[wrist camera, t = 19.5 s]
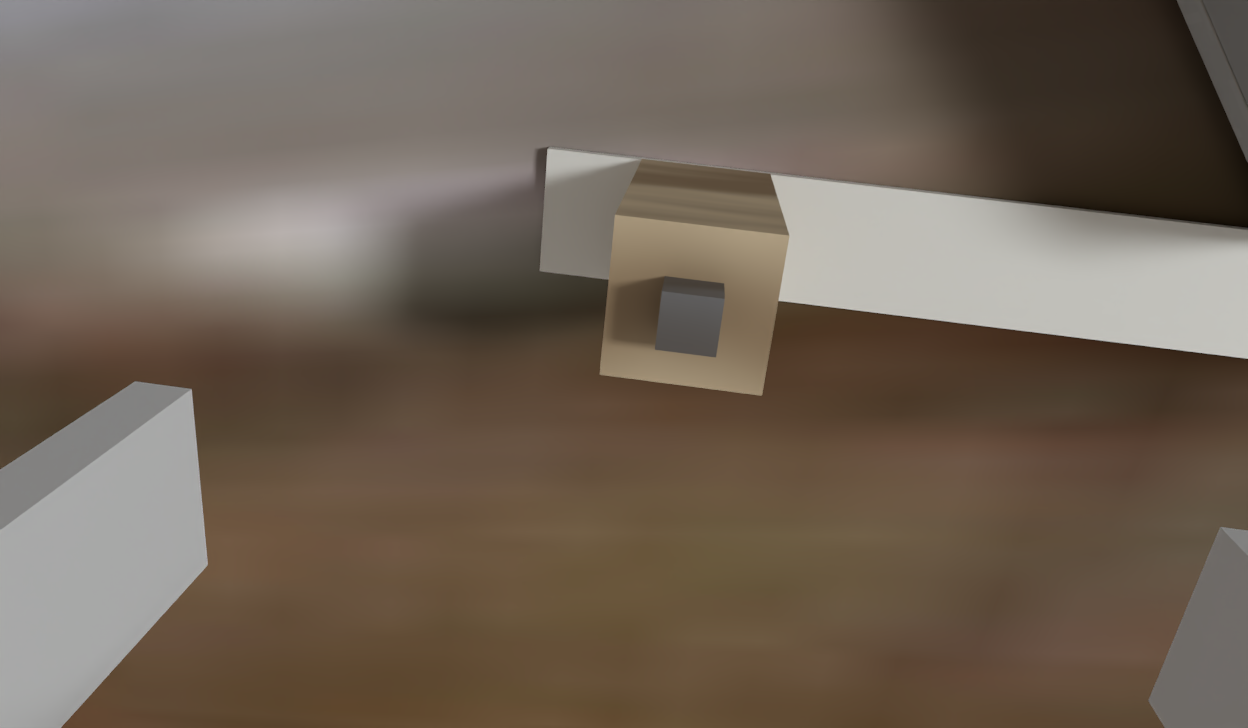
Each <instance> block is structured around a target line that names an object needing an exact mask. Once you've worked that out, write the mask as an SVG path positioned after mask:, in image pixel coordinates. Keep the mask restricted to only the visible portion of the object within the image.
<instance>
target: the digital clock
mask: <svg viewBox="0 0 1248 728" xmlns="http://www.w3.org/2000/svg"><path fill="white" fill-rule="evenodd" d="M1177 2H1178V5H1179V7H1180V9H1181V12H1182V14H1183V16H1184V18H1185V21H1186V23H1187V25H1188V28H1189V30H1190V32H1191V34H1192V37H1193V39H1194V41H1195V44H1196V46H1197V48H1198V51H1199V53H1200V55H1201V57H1202V60H1203V62H1204V64H1205V67H1206V69H1207V71H1208V73H1209V76H1210V78H1211V80H1212V83H1213V85H1214V87H1215V89H1216V92H1217V94H1218V96H1219V99H1220V101H1221V103H1222V105H1223V108H1224V110H1225V112H1226V115H1227V117H1228V119H1229V121H1230V124H1231V126H1232V128H1233V131H1234V133H1235V135H1236V137H1237V140H1238V142H1239V144H1240V147H1241V149H1242V151H1243V153H1244V156H1245V158H1246V160H1247V162H1248V0H1177Z"/></svg>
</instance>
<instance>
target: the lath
mask: <svg viewBox="0 0 1248 728" xmlns="http://www.w3.org/2000/svg"><path fill="white" fill-rule="evenodd" d="M642 159H647V160H655V161H664V162H673V163H681V164H690V165H698V166H707V167H716V168H724V169H733V170H741V171H750V172H758V173H767V174H770V175H771V178H772V181H773V184H774V188H775V191H776V194H777V197H778V200H779V204H780V207H781V210H782V213H783V216H784V220H785V223H786V226H787V229H788V232H789V242H788V247H787V253H786V259H785V265H784V271H783V276H782V282H781V288H780V294H779V300H778V301H785V302H793V303H801V304H809V305H817V306H825V307H834V308H842V309H850V310H858V311H866V312H874V313H882V314H890V315H898V316H906V317H914V318H923V319H931V320H939V321H947V322H955V323H963V324H971V325H979V326H987V327H995V328H1004V329H1012V330H1020V331H1028V332H1036V333H1044V334H1052V335H1060V336H1068V337H1076V338H1084V339H1093V340H1101V341H1109V342H1117V343H1125V344H1133V345H1141V346H1149V347H1157V348H1165V349H1174V350H1182V351H1190V352H1198V353H1206V354H1214V355H1222V356H1230V357H1238V358H1246V359H1248V228H1244V227H1236V226H1227V225H1219V224H1210V223H1201V222H1193V221H1184V220H1176V219H1167V218H1158V217H1150V216H1141V215H1133V214H1124V213H1115V212H1107V211H1098V210H1089V209H1081V208H1072V207H1064V206H1055V205H1046V204H1038V203H1029V202H1021V201H1012V200H1003V199H995V198H986V197H978V196H969V195H960V194H952V193H943V192H935V191H926V190H917V189H909V188H900V187H892V186H883V185H874V184H866V183H857V182H849V181H840V180H831V179H823V178H814V177H806V176H797V175H788V174H780V173H771V172H763V171H754V170H745V169H737V168H728V167H720V166H711V165H702V164H694V163H685V162H677V161H668V160H659V159H651V158H642V157H634V156H625V155H616V154H608V153H599V152H590V151H582V150H573V149H565V148H556V147H549V148H548V149H547V164H546V179H545V194H544V210H543V225H542V240H541V256H540V271H542V272H550V273H558V274H566V275H574V276H583V277H591V278H599V279H607V280H609V271H610V261H611V251H612V240H613V230H614V219H615V214H616V212H617V210H618V207H619V205H620V203H621V201H622V199H623V197H624V195H625V193H626V191H627V189H628V187H629V185H630V183H631V180H632V178H633V176H634V174H635V172H636V170H637V168H638V166H639V164H640V162H641V160H642Z"/></svg>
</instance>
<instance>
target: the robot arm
mask: <svg viewBox="0 0 1248 728" xmlns="http://www.w3.org/2000/svg"><path fill="white" fill-rule="evenodd" d="M207 565H208V562H207V551H206V540H205V529H204V518H203V507H202V497H201V486H200V475H199V464H198V453H197V442H196V432H195V421H194V410H193V399H192V389H188V388H180V387H173V386H165V385H158V384H151V383H143V382H136V381H135V382H134V383H132V384H130V385H129V386H127V387H126V388H124V389H123V390H121V391H120V392H118V393H117V394H115V395H114V396H112V397H111V398H109V399H107V400H106V401H104V402H103V403H101V404H100V405H98V406H97V407H95V408H94V409H92V410H91V411H89V412H88V413H86V414H85V415H83V416H81V417H80V418H78V419H77V420H75V421H74V422H72V423H71V424H69V425H68V426H66V427H65V428H63V429H62V430H60V431H58V432H57V433H55V434H54V435H52V436H51V437H49V438H48V439H46V440H45V441H43V442H42V443H40V444H39V445H37V446H36V447H34V448H32V449H31V450H29V451H28V452H26V453H25V454H23V455H22V456H20V457H19V458H17V459H16V460H14V461H13V462H11V463H10V464H8V465H6V466H5V467H3V468H2V469H0V728H61V727H62V726H63V725H64V724H65V722H66V721H67V720H68V719H69V718H70V717H71V716H72V715H73V714H74V712H75V711H76V710H77V709H78V708H79V707H80V706H81V705H82V704H83V703H84V701H85V700H86V699H87V698H88V697H89V696H90V695H91V694H92V693H93V691H94V690H95V689H96V688H97V687H98V686H99V685H100V684H101V683H102V681H103V680H104V679H105V678H106V677H107V676H108V675H109V674H110V673H111V672H112V670H113V669H114V668H115V667H116V666H117V665H118V664H119V663H120V662H121V660H122V659H123V658H124V657H125V656H126V655H127V654H128V653H129V652H130V651H131V649H132V648H133V647H134V646H135V645H136V644H137V643H138V642H139V641H140V639H141V638H142V637H143V636H144V635H145V634H146V633H147V632H148V631H149V629H150V628H151V627H152V626H153V625H154V624H155V623H156V622H157V621H158V620H159V618H160V617H161V616H162V615H163V614H164V613H165V612H166V611H167V610H168V608H169V607H170V606H171V605H172V604H173V603H174V602H175V601H176V600H177V599H178V597H179V596H180V595H181V594H182V593H183V592H184V591H185V590H186V589H187V587H188V586H189V585H190V584H191V583H192V582H193V581H194V580H195V579H196V577H197V576H198V575H199V574H200V573H201V572H202V571H203V570H204V569H205V568H206V566H207ZM1148 701H1149V703H1150V704H1151V706H1152V708H1153V709H1154V711H1155V712H1156V714H1157V716H1158V717H1159V719H1160V720H1161V722H1162V724H1163V725H1164V727H1165V728H1248V531H1246V530H1239V529H1231V528H1224V527H1220V529H1219V531H1218V534H1217V536H1216V539H1215V541H1214V543H1213V546H1212V548H1211V551H1210V553H1209V555H1208V558H1207V560H1206V563H1205V565H1204V568H1203V570H1202V572H1201V575H1200V577H1199V580H1198V582H1197V584H1196V587H1195V589H1194V592H1193V594H1192V596H1191V599H1190V601H1189V604H1188V606H1187V609H1186V611H1185V613H1184V616H1183V618H1182V621H1181V623H1180V625H1179V628H1178V630H1177V633H1176V635H1175V638H1174V640H1173V642H1172V645H1171V647H1170V650H1169V652H1168V654H1167V657H1166V659H1165V662H1164V664H1163V667H1162V669H1161V671H1160V674H1159V676H1158V679H1157V681H1156V683H1155V686H1154V688H1153V691H1152V693H1151V695H1150V698H1149V700H1148Z"/></svg>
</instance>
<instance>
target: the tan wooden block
mask: <svg viewBox="0 0 1248 728" xmlns="http://www.w3.org/2000/svg"><path fill="white" fill-rule="evenodd" d="M788 242H789V232H788V229H787V226H786V223H785V220H784V216H783V213H782V210H781V207H780V204H779V200H778V197H777V194H776V191H775V188H774V184H773V181H772V178H771V175H770V174H767V173H758V172H750V171H741V170H733V169H724V168H716V167H707V166H698V165H690V164H681V163H673V162H664V161H655V160H647V159H642V160H641V162H640V164H639V166H638V168H637V170H636V172H635V174H634V176H633V178H632V180H631V183H630V185H629V187H628V189H627V191H626V193H625V195H624V197H623V199H622V201H621V203H620V205H619V207H618V210H617V212H616V214H615V219H614V230H613V240H612V251H611V261H610V271H609V282H608V292H607V303H606V313H605V323H604V334H603V344H602V355H601V365H600V375H606V376H614V377H622V378H630V379H637V380H645V381H653V382H661V383H668V384H676V385H684V386H691V387H699V388H707V389H715V390H722V391H730V392H738V393H746V394H753V395H761V396H762V392H763V386H764V381H765V375H766V369H767V363H768V358H769V352H770V346H771V340H772V334H773V329H774V323H775V317H776V311H777V305H778V300H779V294H780V288H781V282H782V276H783V271H784V265H785V259H786V253H787V247H788Z"/></svg>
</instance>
